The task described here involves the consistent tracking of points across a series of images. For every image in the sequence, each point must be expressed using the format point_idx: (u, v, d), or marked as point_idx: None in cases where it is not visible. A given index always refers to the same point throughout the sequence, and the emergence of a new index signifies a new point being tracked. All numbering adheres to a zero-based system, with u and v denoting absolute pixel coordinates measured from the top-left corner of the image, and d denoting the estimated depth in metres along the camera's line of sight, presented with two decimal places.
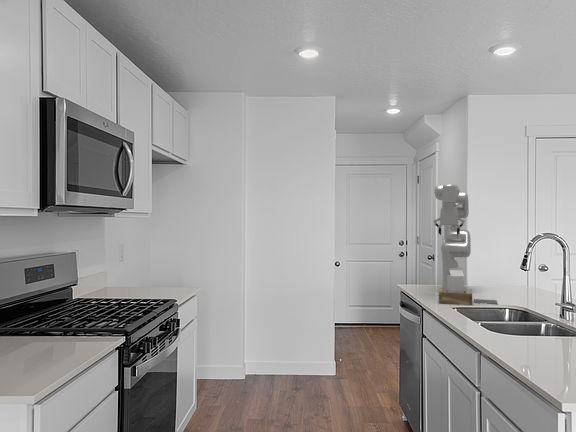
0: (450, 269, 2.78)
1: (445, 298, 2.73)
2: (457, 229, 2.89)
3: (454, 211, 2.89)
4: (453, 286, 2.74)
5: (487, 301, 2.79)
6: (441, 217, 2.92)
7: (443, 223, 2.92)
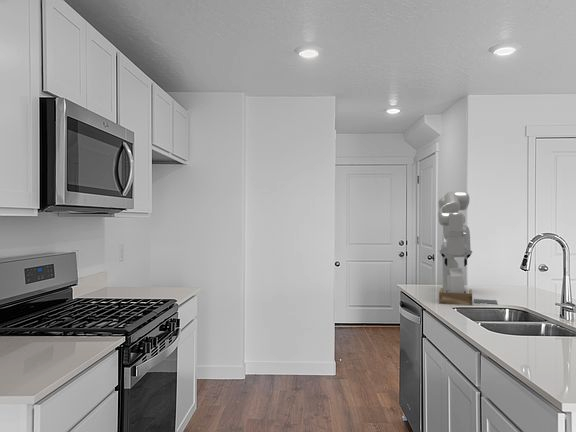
0: (450, 269, 2.78)
1: (445, 298, 2.73)
2: (464, 260, 2.74)
3: (461, 241, 2.74)
4: (453, 286, 2.74)
5: (487, 301, 2.79)
6: (447, 247, 2.77)
7: (449, 253, 2.77)
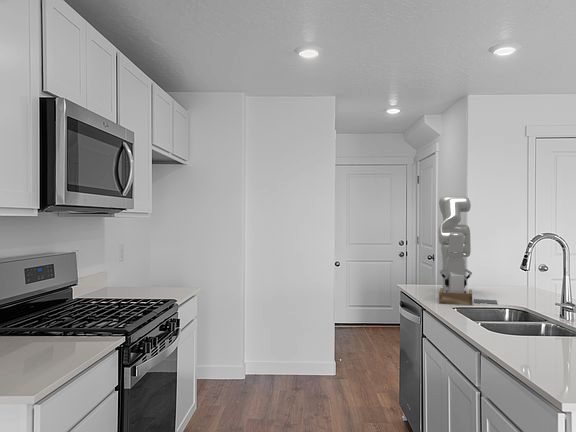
0: None
1: (445, 298, 2.73)
2: (464, 281, 2.75)
3: (461, 262, 2.75)
4: (453, 286, 2.74)
5: (487, 301, 2.79)
6: (447, 268, 2.77)
7: (449, 274, 2.77)
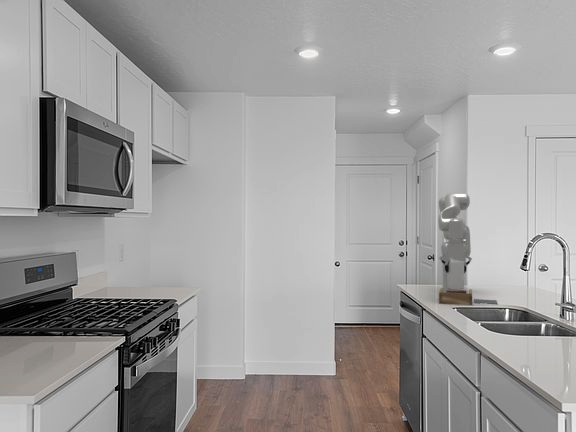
0: None
1: (445, 298, 2.73)
2: (464, 267, 2.75)
3: (461, 248, 2.75)
4: (453, 272, 2.75)
5: (487, 301, 2.79)
6: (447, 254, 2.78)
7: (449, 260, 2.77)
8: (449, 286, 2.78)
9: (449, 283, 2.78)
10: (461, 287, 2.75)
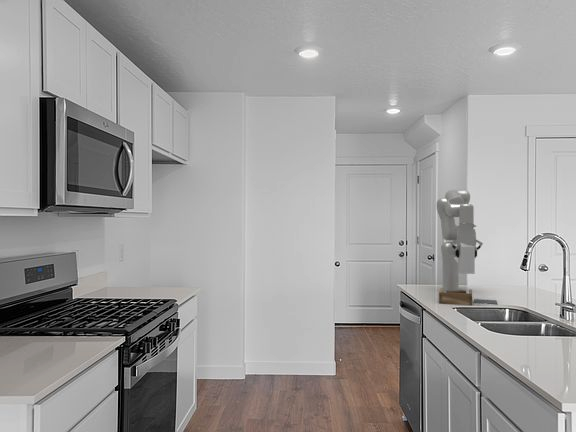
0: None
1: (445, 298, 2.73)
2: None
3: (472, 232, 2.75)
4: (463, 256, 2.75)
5: (487, 301, 2.79)
6: (458, 238, 2.78)
7: (460, 245, 2.78)
8: (460, 271, 2.78)
9: (460, 268, 2.78)
10: (472, 272, 2.75)
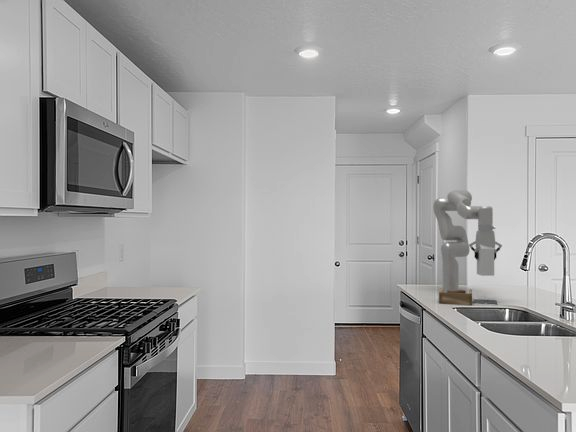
0: None
1: (445, 298, 2.73)
2: (494, 254, 2.76)
3: (491, 234, 2.76)
4: (483, 258, 2.75)
5: (487, 301, 2.79)
6: (477, 240, 2.79)
7: (479, 247, 2.78)
8: (479, 273, 2.78)
9: (479, 270, 2.78)
10: (491, 274, 2.75)
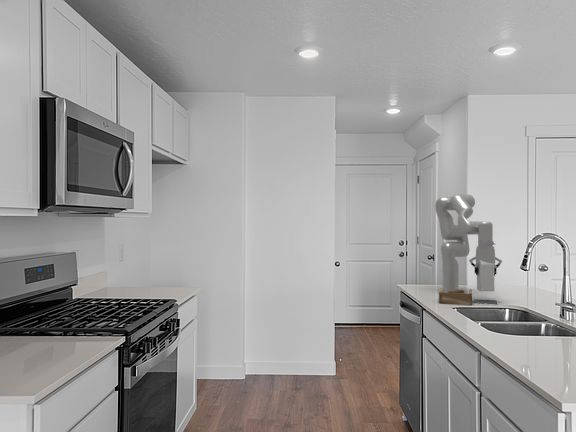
0: None
1: (445, 298, 2.73)
2: (494, 269, 2.76)
3: (491, 250, 2.76)
4: (483, 274, 2.75)
5: (487, 301, 2.79)
6: (477, 256, 2.78)
7: (479, 262, 2.78)
8: (479, 288, 2.78)
9: (479, 285, 2.78)
10: (491, 289, 2.75)
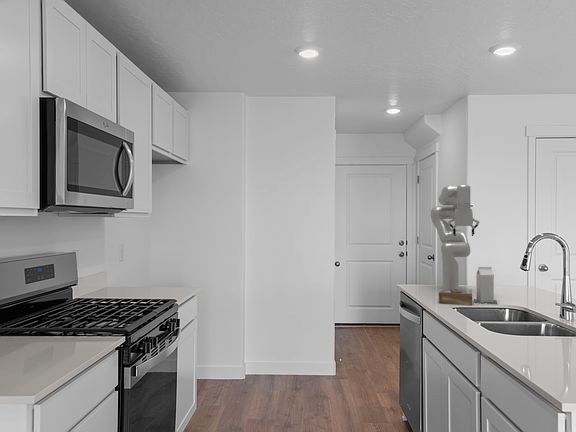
0: (479, 268, 2.79)
1: (445, 298, 2.73)
2: (472, 230, 2.88)
3: (469, 212, 2.88)
4: (482, 284, 2.76)
5: None
6: (456, 218, 2.91)
7: (458, 224, 2.91)
8: (478, 299, 2.79)
9: (478, 296, 2.79)
10: (491, 300, 2.76)
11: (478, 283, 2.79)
